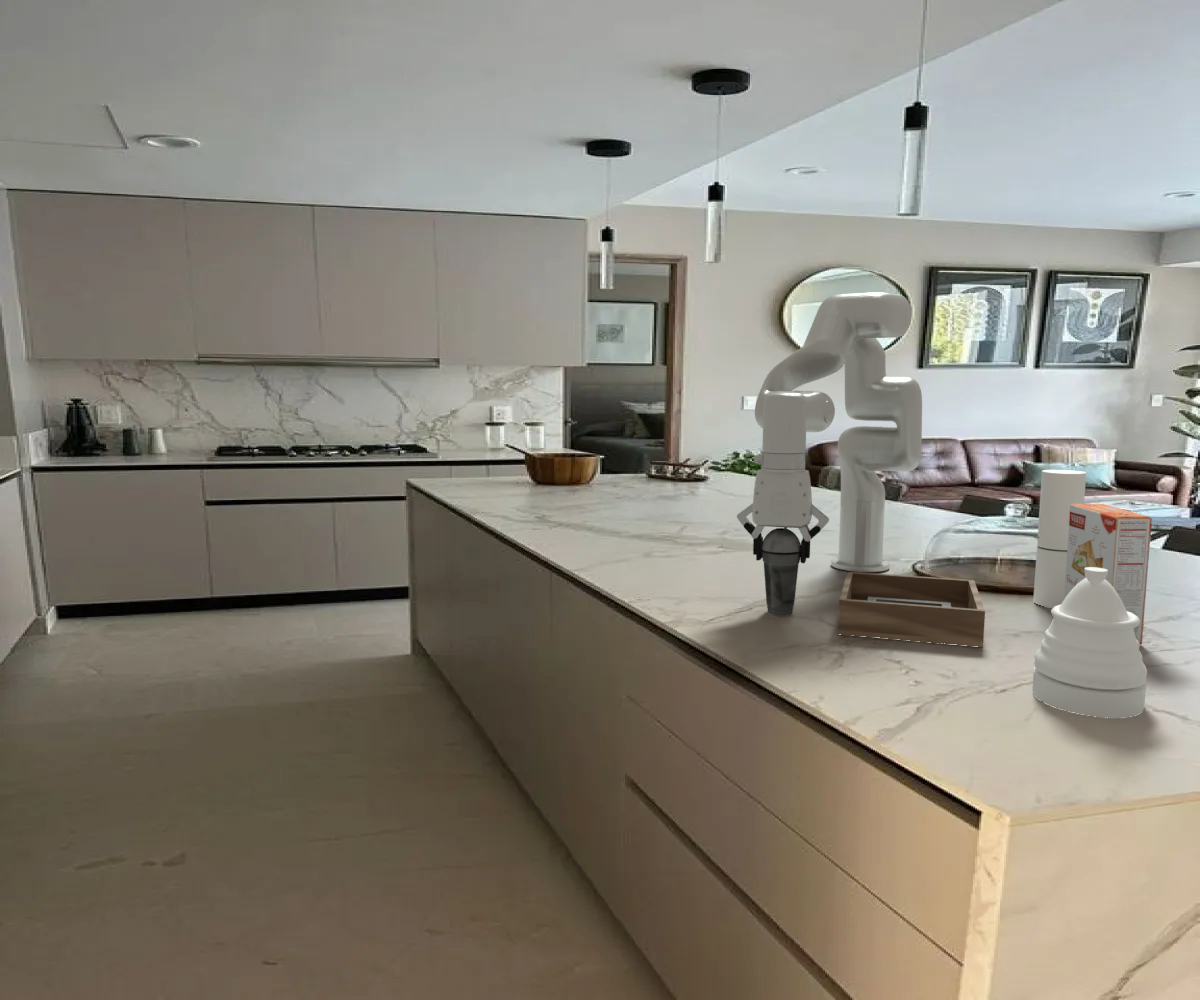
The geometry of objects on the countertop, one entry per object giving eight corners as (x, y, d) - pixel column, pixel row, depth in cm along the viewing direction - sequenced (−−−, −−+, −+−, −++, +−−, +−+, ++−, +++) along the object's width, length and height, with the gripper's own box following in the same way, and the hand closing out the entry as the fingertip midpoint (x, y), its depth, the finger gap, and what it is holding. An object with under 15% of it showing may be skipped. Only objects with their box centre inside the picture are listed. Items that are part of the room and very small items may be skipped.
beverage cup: (755, 608, 158) (756, 501, 155) (793, 606, 159) (795, 500, 156) (766, 618, 151) (767, 507, 148) (806, 617, 151) (808, 506, 149)
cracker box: (1059, 621, 148) (1068, 502, 145) (1095, 621, 148) (1104, 502, 145) (1104, 646, 134) (1114, 515, 132) (1143, 646, 134) (1154, 515, 131)
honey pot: (1144, 726, 103) (1157, 582, 101) (1027, 706, 110) (1036, 570, 108) (1143, 693, 114) (1155, 562, 112) (1036, 676, 121) (1045, 552, 118)
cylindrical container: (1072, 600, 162) (1081, 470, 158) (1079, 610, 155) (1090, 474, 151) (1030, 598, 164) (1039, 469, 160) (1036, 607, 157) (1045, 473, 154)
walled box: (846, 602, 161) (847, 571, 161) (972, 612, 154) (974, 580, 153) (838, 635, 141) (839, 600, 140) (982, 648, 134) (985, 611, 133)
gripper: (731, 463, 150) (729, 561, 153) (832, 466, 145) (829, 568, 147) (738, 459, 157) (737, 553, 160) (835, 462, 152) (832, 559, 154)
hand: (781, 559), depth 153 cm, fingers closed on beverage cup, 7 cm apart
